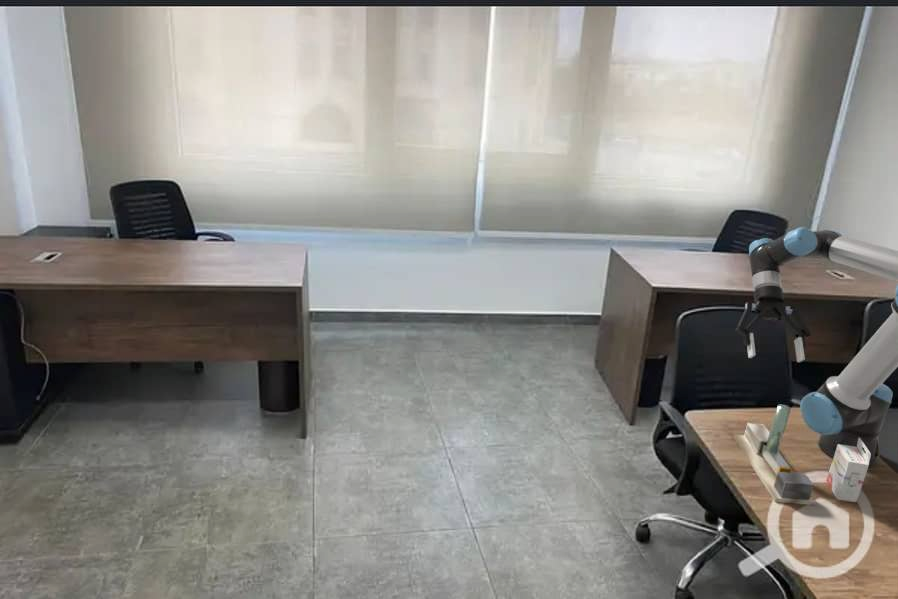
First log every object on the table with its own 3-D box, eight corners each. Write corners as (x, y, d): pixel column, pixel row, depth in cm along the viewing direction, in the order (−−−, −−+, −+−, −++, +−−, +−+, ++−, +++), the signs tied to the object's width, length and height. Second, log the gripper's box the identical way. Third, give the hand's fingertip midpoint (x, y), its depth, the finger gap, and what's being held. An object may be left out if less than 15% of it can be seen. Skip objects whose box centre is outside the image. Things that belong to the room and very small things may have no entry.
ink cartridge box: (824, 480, 173) (839, 433, 167) (844, 483, 172) (860, 436, 166) (836, 500, 165) (852, 451, 159) (857, 503, 164) (873, 454, 159)
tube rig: (767, 440, 189) (771, 424, 187) (814, 505, 162) (820, 486, 160) (733, 437, 190) (737, 420, 188) (774, 501, 162) (780, 483, 160)
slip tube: (759, 437, 187) (773, 389, 181) (789, 478, 169) (805, 425, 163) (748, 436, 187) (762, 387, 181) (777, 477, 169) (793, 424, 163)
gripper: (803, 298, 190) (814, 366, 181) (719, 291, 190) (725, 358, 182) (817, 287, 183) (829, 358, 174) (730, 280, 183) (737, 350, 175)
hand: (776, 358), depth 178 cm, fingers open, 13 cm apart
